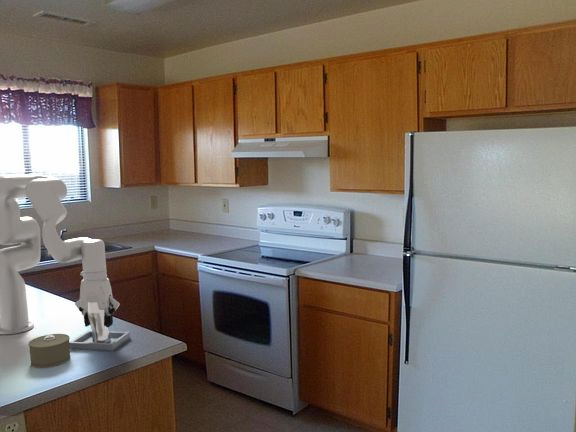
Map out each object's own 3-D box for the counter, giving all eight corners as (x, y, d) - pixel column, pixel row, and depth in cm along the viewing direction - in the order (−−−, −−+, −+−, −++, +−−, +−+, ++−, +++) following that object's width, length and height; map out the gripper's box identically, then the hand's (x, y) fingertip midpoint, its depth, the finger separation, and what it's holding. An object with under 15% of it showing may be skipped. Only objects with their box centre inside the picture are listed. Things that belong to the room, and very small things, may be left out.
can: (29, 371, 159) (27, 349, 158) (31, 357, 170) (29, 337, 169) (71, 363, 163) (69, 343, 162) (70, 351, 174) (69, 331, 173)
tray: (69, 349, 175) (68, 342, 175) (89, 337, 187) (88, 330, 187) (113, 351, 172) (112, 344, 172) (130, 338, 184) (129, 332, 184)
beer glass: (104, 345, 175) (100, 302, 174) (86, 345, 177) (81, 302, 175) (116, 337, 182) (111, 296, 180) (98, 337, 184) (93, 296, 182)
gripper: (65, 277, 175) (69, 328, 177) (113, 278, 171) (116, 330, 174) (78, 272, 182) (82, 321, 184) (124, 273, 179) (127, 323, 181)
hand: (98, 325), depth 179 cm, fingers open, 7 cm apart
